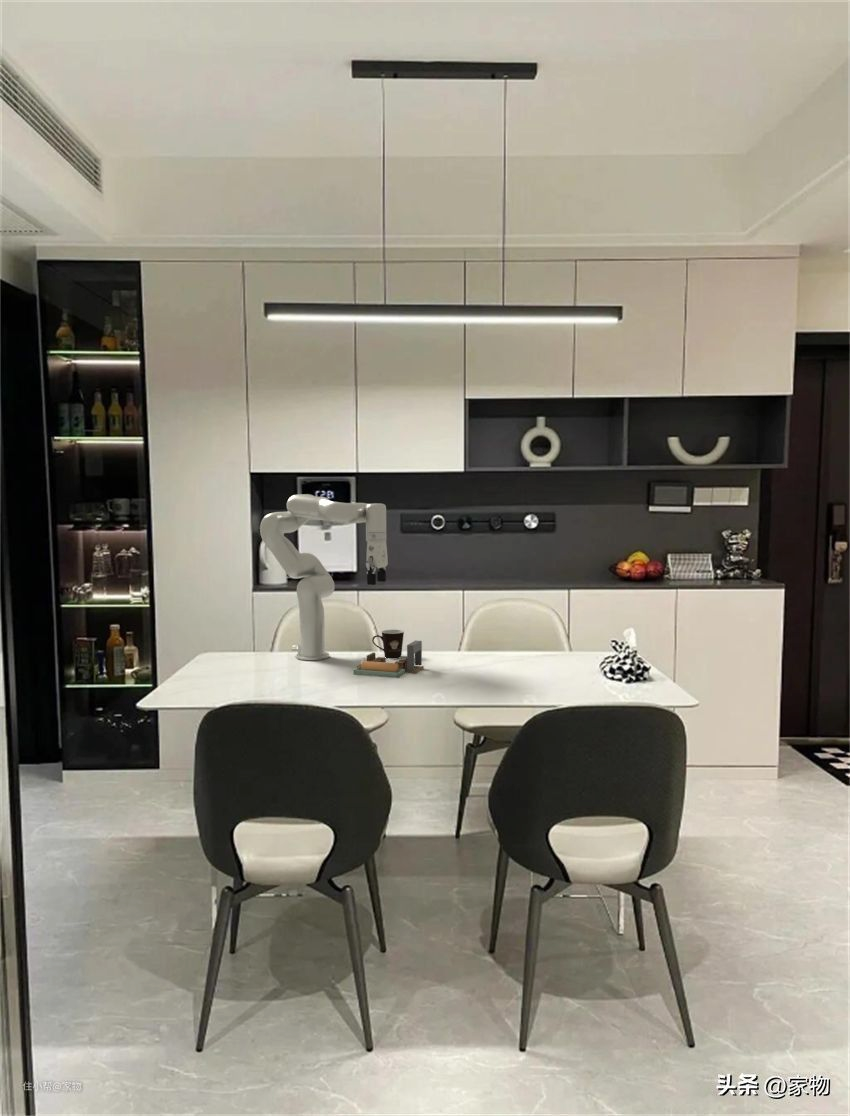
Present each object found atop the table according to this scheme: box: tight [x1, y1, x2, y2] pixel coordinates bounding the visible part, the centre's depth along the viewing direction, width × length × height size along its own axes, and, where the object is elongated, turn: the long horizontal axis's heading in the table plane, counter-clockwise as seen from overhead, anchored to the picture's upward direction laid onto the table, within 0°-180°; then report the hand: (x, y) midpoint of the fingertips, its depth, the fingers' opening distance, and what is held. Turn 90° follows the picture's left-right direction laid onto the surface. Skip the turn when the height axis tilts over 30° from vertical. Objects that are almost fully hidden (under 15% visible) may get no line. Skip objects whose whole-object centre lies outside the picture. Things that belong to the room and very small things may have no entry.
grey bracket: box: [406, 640, 423, 670], centre depth 280 cm, size 2×9×9 cm, turn 161°
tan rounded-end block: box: [360, 660, 399, 673], centre depth 276 cm, size 13×4×4 cm, turn 71°
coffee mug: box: [371, 629, 405, 659], centre depth 304 cm, size 12×9×10 cm
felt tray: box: [352, 666, 406, 679], centre depth 276 cm, size 17×7×2 cm, turn 71°
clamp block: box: [356, 652, 425, 675], centre depth 283 cm, size 23×7×5 cm, turn 71°
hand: (376, 583), depth 290 cm, fingers open, 9 cm apart
